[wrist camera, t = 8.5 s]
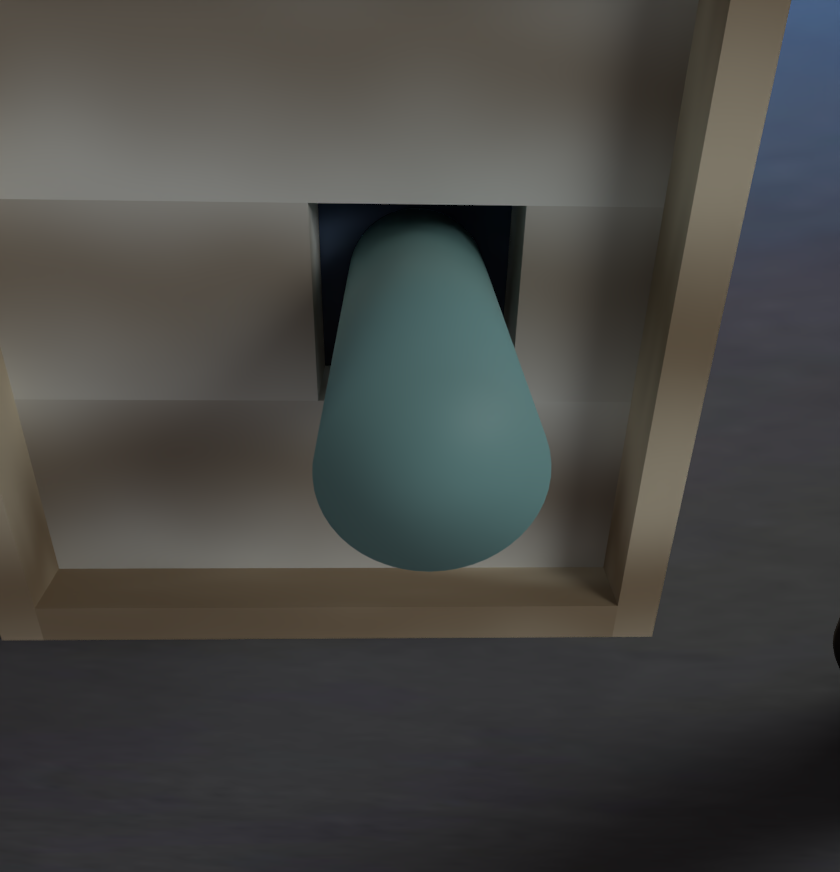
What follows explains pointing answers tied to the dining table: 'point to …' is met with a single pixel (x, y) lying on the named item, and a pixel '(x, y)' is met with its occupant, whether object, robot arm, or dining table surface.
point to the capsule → (426, 405)
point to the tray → (302, 294)
